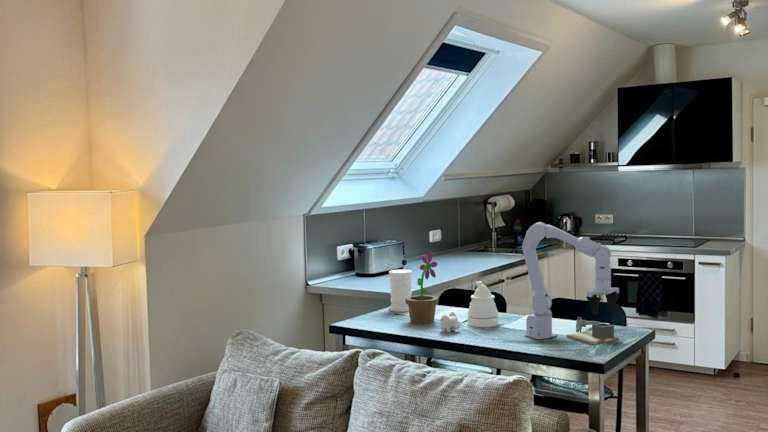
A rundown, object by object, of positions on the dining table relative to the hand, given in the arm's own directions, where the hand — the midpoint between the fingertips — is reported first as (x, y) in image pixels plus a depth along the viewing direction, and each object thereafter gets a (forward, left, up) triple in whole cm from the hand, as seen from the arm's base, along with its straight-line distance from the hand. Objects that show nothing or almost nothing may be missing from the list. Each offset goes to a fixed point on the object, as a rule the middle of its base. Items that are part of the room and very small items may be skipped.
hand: (603, 313), depth 278 cm
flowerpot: (-40, +66, -10) cm, 78 cm away
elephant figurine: (-40, +44, -10) cm, 60 cm away
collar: (0, 0, -9) cm, 9 cm away
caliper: (+9, +17, -10) cm, 22 cm away
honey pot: (-21, +48, -10) cm, 53 cm away
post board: (-2, +3, -10) cm, 11 cm away
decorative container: (-34, +94, -10) cm, 101 cm away
